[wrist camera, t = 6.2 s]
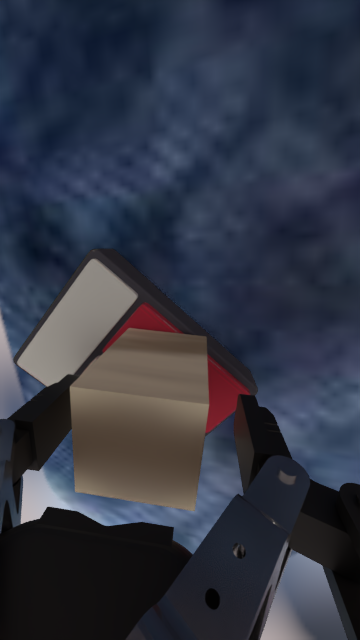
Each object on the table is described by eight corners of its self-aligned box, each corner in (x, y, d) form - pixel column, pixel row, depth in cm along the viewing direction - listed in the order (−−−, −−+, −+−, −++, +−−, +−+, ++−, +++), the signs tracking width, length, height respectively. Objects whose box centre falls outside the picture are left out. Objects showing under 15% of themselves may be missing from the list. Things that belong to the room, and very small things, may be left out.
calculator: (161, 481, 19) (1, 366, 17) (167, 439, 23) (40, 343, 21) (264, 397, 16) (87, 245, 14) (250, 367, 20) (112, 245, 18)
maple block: (129, 327, 15) (69, 386, 8) (206, 336, 15) (209, 404, 8) (127, 395, 16) (75, 491, 10) (198, 404, 16) (194, 511, 9)
